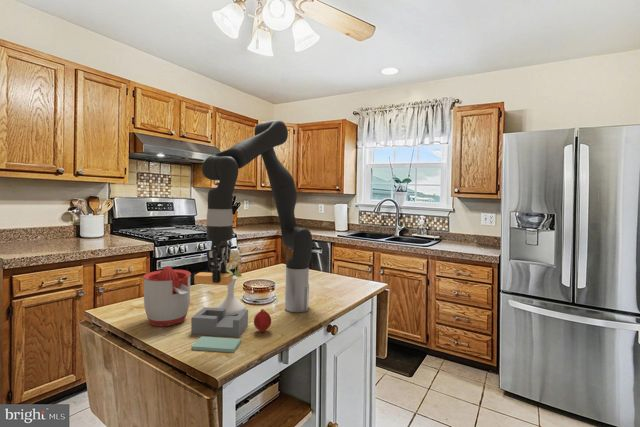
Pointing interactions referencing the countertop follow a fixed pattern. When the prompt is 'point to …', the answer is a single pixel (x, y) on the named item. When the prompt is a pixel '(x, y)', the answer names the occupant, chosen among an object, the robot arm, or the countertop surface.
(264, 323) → the onion
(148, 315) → the citrus juicer
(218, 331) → the kitting block
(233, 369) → the countertop surface
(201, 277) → the plank
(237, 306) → the flower in vase
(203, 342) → the mat
